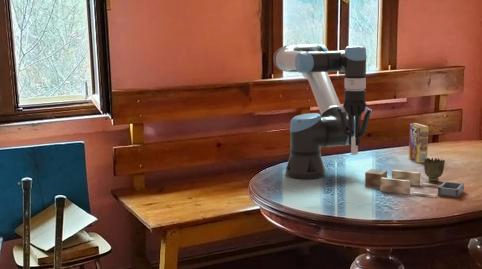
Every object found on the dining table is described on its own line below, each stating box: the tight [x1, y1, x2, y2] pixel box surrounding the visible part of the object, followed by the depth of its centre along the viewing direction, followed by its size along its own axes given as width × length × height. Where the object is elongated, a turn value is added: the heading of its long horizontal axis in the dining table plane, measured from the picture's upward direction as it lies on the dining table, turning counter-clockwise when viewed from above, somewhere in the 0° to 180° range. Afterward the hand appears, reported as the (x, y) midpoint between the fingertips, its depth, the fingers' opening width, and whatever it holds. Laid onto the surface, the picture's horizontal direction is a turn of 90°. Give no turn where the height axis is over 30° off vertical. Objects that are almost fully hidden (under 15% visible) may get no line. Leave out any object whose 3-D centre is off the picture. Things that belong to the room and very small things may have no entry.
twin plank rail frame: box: [379, 169, 441, 199], centre depth 219 cm, size 19×14×4 cm
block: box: [364, 168, 388, 189], centre depth 226 cm, size 6×6×5 cm
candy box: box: [408, 122, 430, 164], centre depth 260 cm, size 9×4×15 cm, turn 13°
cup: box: [423, 157, 446, 183], centre depth 228 cm, size 8×7×8 cm
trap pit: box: [437, 181, 465, 199], centre depth 213 cm, size 6×9×3 cm
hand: (354, 153), depth 228 cm, fingers closed
